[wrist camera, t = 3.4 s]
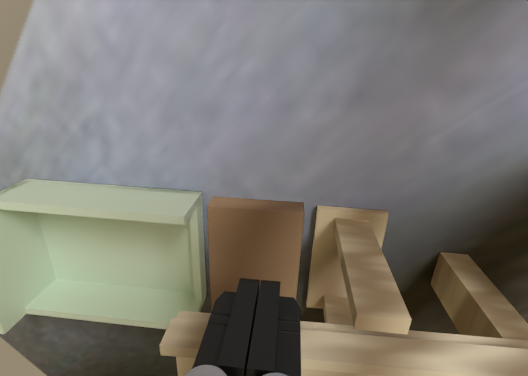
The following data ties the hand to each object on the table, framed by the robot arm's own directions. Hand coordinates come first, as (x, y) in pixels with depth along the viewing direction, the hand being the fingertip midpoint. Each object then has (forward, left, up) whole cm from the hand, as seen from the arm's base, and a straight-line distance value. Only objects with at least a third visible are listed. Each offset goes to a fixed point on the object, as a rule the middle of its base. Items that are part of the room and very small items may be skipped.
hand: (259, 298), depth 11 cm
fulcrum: (+6, +9, -12) cm, 16 cm away
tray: (+6, -13, -12) cm, 19 cm away
